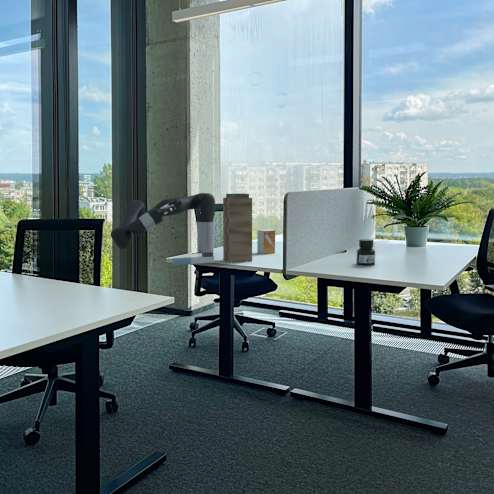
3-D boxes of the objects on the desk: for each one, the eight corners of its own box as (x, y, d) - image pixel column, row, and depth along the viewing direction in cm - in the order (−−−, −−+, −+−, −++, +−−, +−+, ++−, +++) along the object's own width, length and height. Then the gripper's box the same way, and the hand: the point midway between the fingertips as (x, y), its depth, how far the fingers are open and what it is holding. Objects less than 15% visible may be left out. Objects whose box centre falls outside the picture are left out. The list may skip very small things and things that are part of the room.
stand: (223, 259, 281) (223, 193, 276) (245, 258, 285) (245, 193, 281) (229, 262, 272) (229, 194, 267) (252, 261, 276) (252, 194, 271)
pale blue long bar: (171, 264, 267) (171, 254, 266) (212, 261, 275) (212, 251, 274) (173, 265, 264) (173, 254, 263) (214, 262, 272) (214, 252, 272)
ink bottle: (359, 265, 262) (360, 241, 261) (352, 263, 271) (353, 239, 269) (378, 265, 264) (379, 240, 263) (371, 262, 273) (371, 238, 271)
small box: (263, 254, 300) (263, 230, 298) (257, 253, 305) (257, 229, 303) (275, 253, 304) (275, 230, 302) (268, 252, 309) (268, 229, 308)
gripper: (151, 224, 267) (179, 207, 271) (157, 227, 254) (186, 209, 258) (143, 211, 265) (171, 194, 269) (149, 213, 252) (178, 195, 255)
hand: (179, 201), depth 263 cm, fingers open, 8 cm apart
